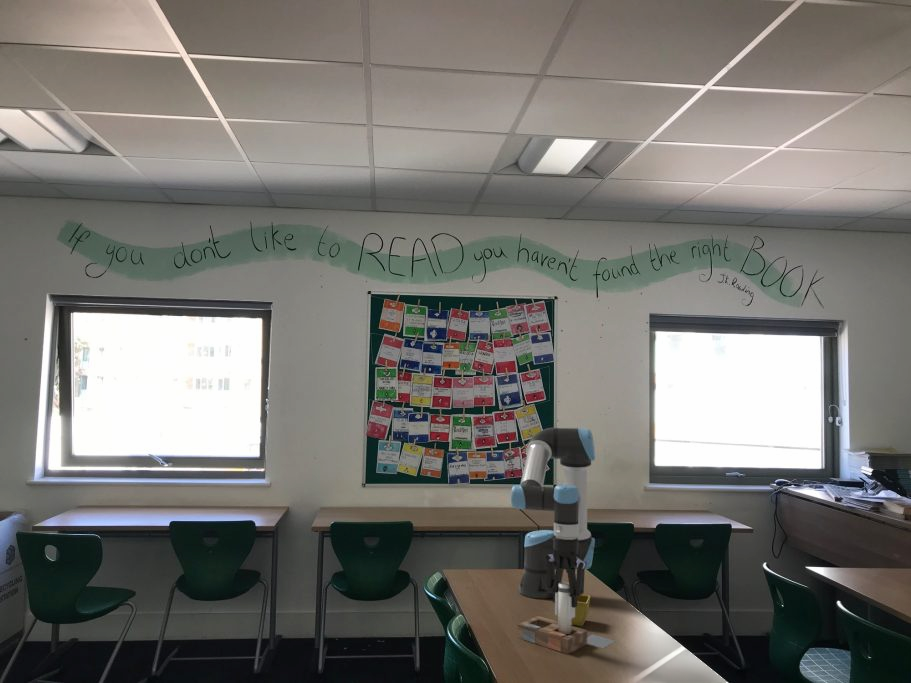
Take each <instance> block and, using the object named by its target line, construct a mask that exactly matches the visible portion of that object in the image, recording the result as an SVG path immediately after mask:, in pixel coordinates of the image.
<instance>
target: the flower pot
mask: <svg viewBox="0 0 911 683" xmlns="http://www.w3.org/2000/svg"><path fill="white" fill-rule="evenodd" d="M590 600H591V596H590V595H588V594H587V595H586V594H582V595H579V596H578V599H577V607H575V617H574V618H572V622H571V626H577V627H578V626H579V627H583V626H584V624H585V622H586V619H587V616H588V614H589V610H590V602H591V601H590Z"/></svg>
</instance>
